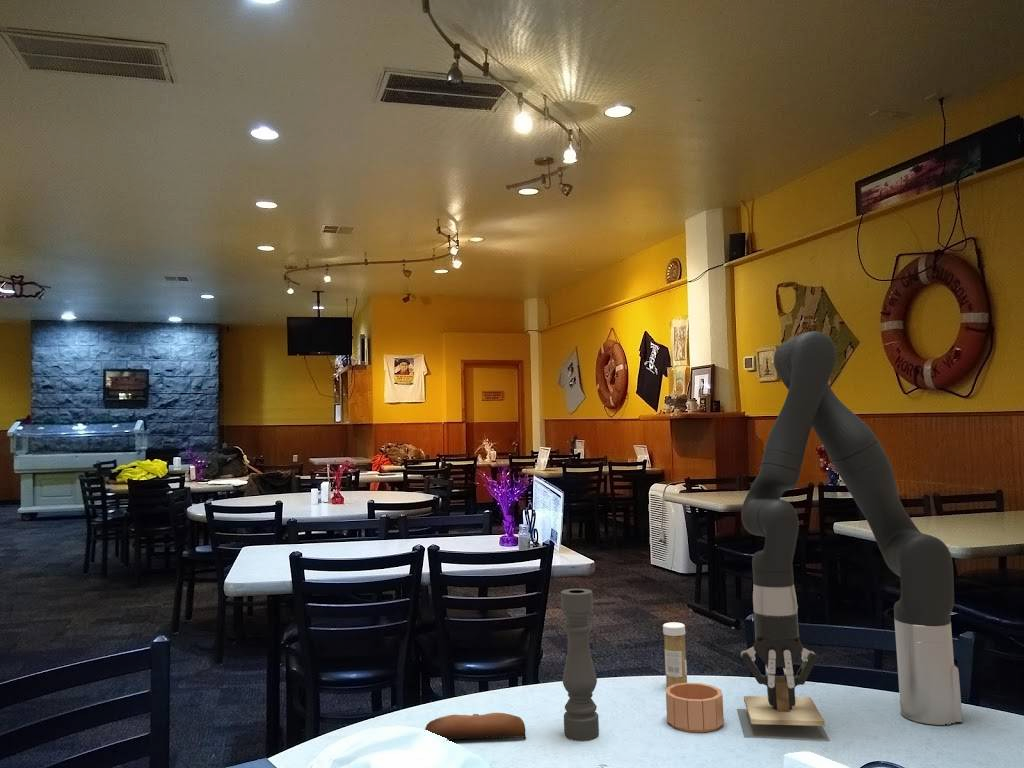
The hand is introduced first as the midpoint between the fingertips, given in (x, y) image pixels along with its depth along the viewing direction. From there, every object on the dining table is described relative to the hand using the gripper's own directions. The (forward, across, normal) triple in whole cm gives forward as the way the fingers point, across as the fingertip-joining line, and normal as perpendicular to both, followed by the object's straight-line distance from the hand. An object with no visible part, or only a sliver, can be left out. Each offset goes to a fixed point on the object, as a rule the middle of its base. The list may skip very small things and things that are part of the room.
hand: (781, 707), depth 136 cm
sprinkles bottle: (+3, +18, -18) cm, 26 cm away
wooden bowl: (+3, +15, +1) cm, 16 cm away
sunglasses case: (+3, +54, +9) cm, 55 cm away
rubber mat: (+3, 0, 0) cm, 3 cm away
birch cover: (+1, 0, 0) cm, 1 cm away
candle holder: (+3, +35, +8) cm, 36 cm away
